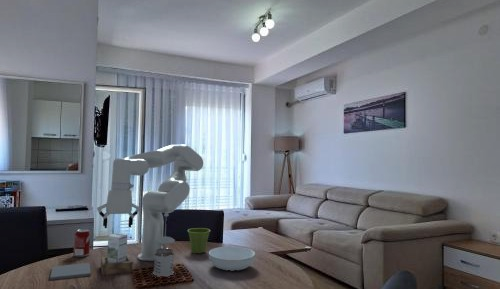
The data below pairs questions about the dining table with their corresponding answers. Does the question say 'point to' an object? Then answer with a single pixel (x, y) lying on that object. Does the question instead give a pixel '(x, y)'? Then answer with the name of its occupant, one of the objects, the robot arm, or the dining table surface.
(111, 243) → the syrup box
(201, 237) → the plant pot
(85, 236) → the soda can
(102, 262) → the holder
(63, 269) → the mat
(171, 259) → the french press
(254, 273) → the dining table surface
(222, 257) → the serving bowl
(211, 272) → the dining table surface
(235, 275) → the dining table surface
